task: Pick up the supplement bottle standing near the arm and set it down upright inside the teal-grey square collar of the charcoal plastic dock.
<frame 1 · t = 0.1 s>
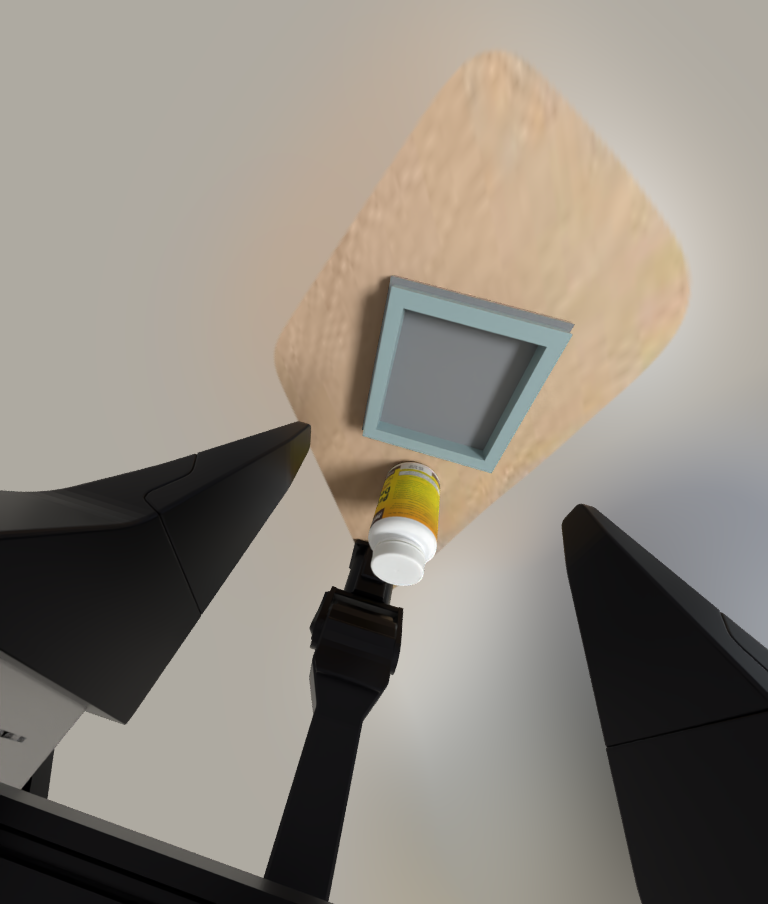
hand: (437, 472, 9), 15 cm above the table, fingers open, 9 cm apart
supplement bottle: (413, 480, 29), on the table
dock: (449, 381, 22), on the table
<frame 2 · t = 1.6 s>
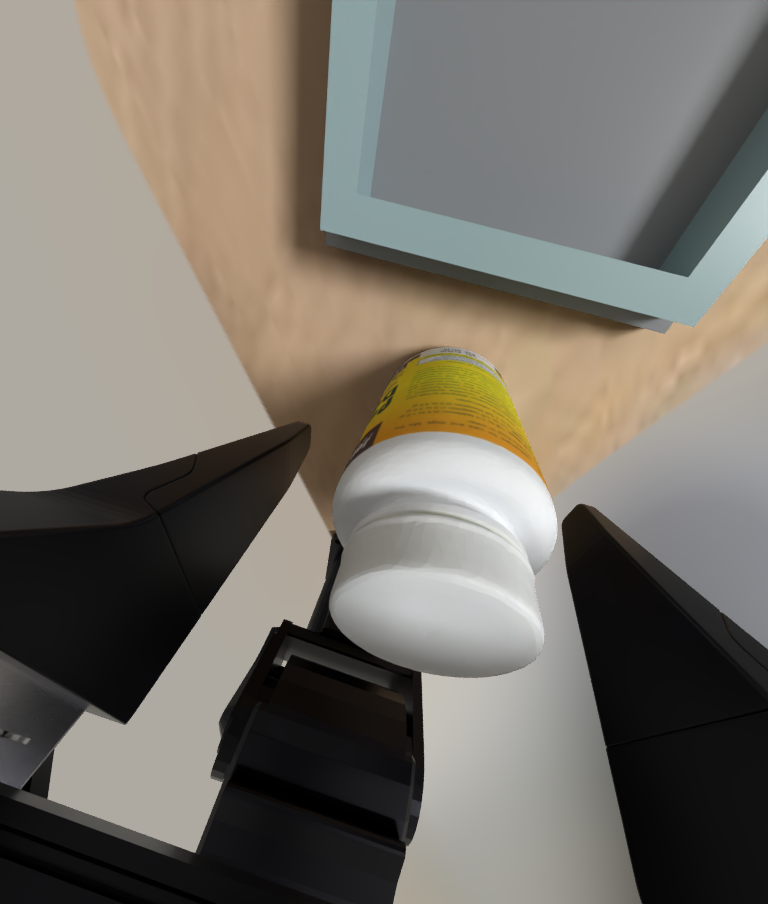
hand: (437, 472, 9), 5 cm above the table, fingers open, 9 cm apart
supplement bottle: (443, 401, 14), on the table
dock: (589, 9, 7), on the table
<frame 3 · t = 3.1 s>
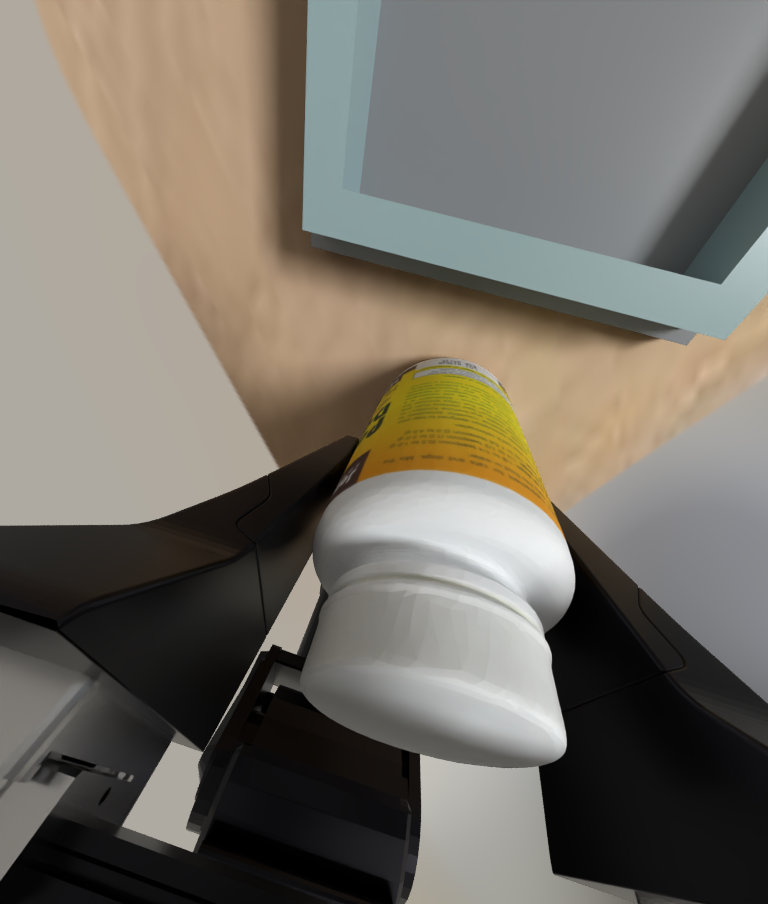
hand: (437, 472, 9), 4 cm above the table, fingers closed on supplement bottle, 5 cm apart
supplement bottle: (442, 415, 13), on the table, touching gripper
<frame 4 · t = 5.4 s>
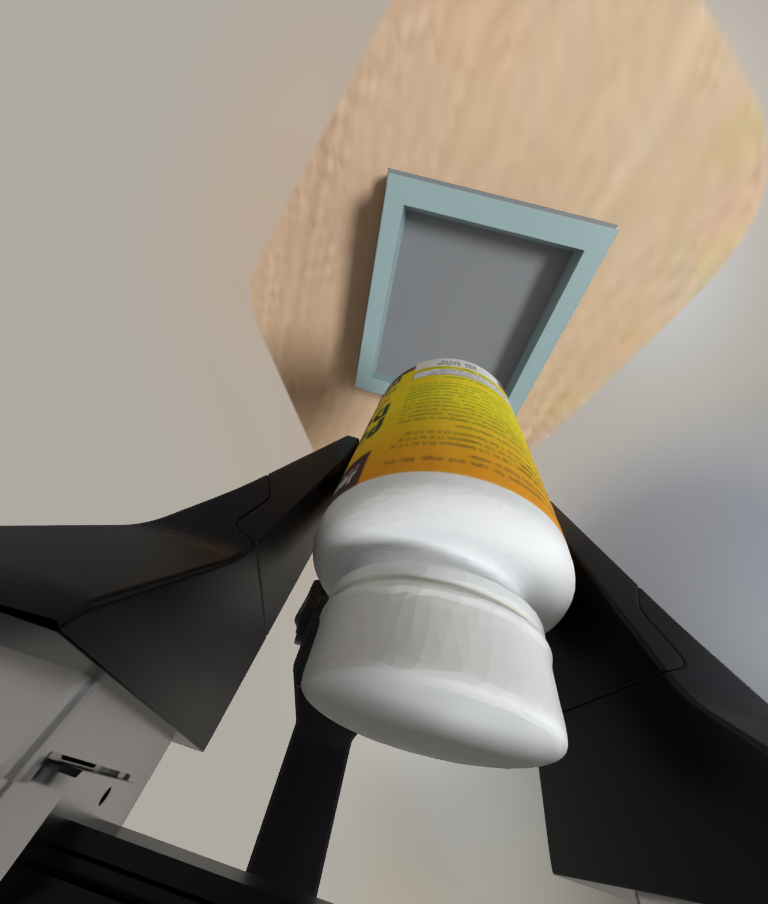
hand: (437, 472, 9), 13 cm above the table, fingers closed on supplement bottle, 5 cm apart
supplement bottle: (441, 415, 13), point 9 cm above the table, touching gripper
dock: (458, 318, 18), on the table
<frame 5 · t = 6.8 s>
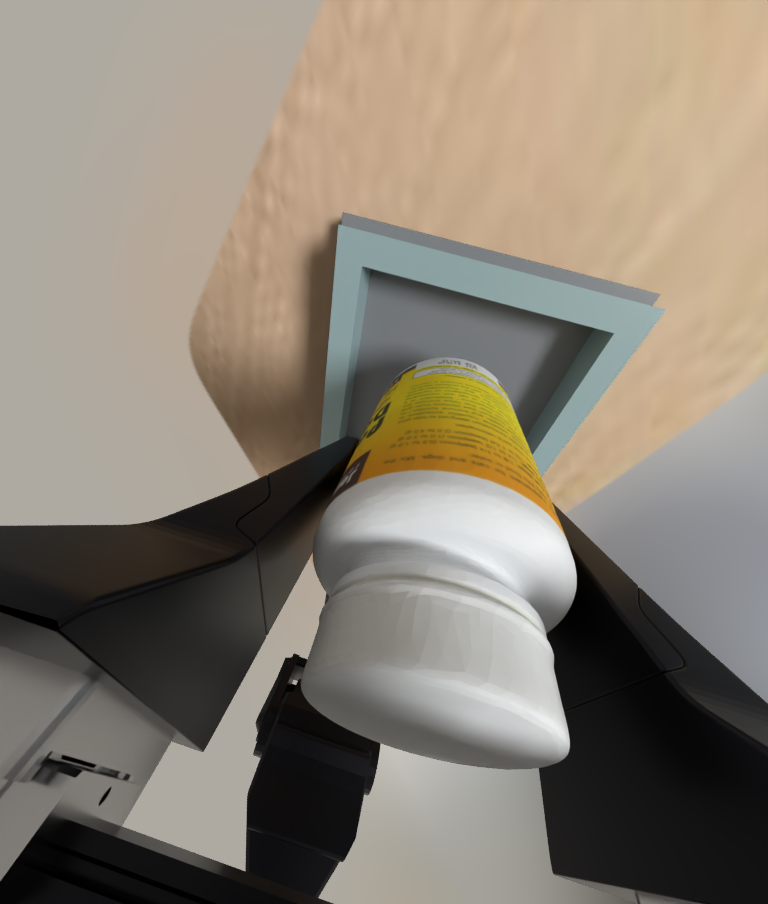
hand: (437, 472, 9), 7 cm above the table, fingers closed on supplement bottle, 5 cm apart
supplement bottle: (441, 414, 13), point 3 cm above the table, touching gripper
dock: (444, 390, 15), on the table
when the fingers open (6 cm above the table, at t = 8.0 s): supplement bottle drops 1 cm, resting on dock.
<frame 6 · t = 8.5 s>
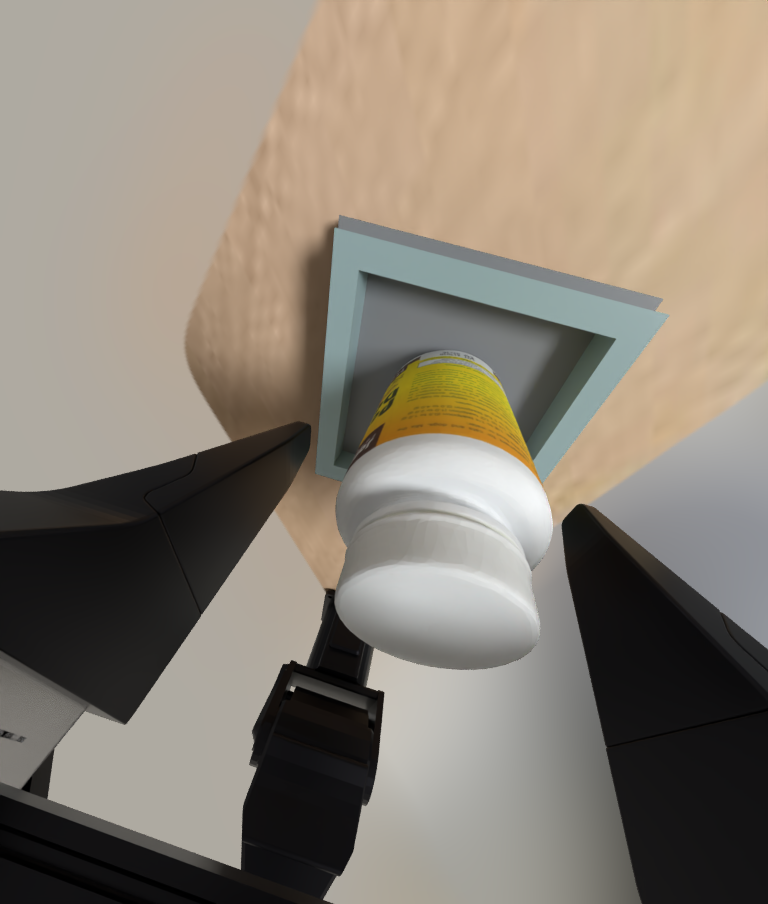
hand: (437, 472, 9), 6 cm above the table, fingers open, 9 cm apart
supplement bottle: (442, 403, 14), point 1 cm above the table, touching dock
dock: (443, 394, 14), on the table
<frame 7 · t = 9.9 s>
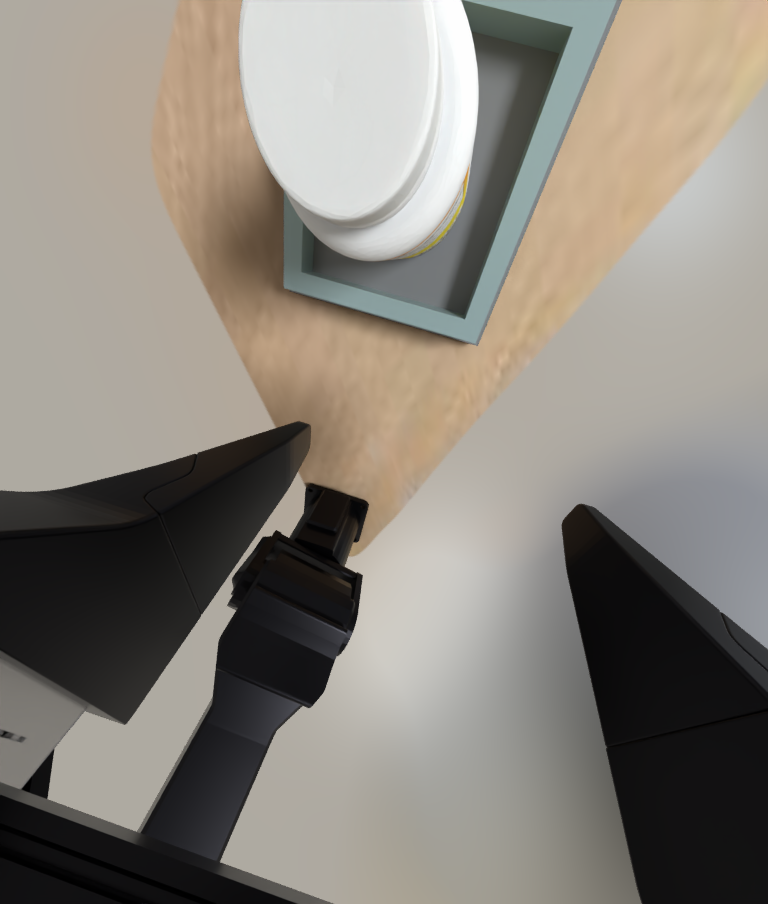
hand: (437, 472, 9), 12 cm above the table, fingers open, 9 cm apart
supplement bottle: (408, 189, 14), point 1 cm above the table, touching dock
dock: (411, 189, 14), on the table
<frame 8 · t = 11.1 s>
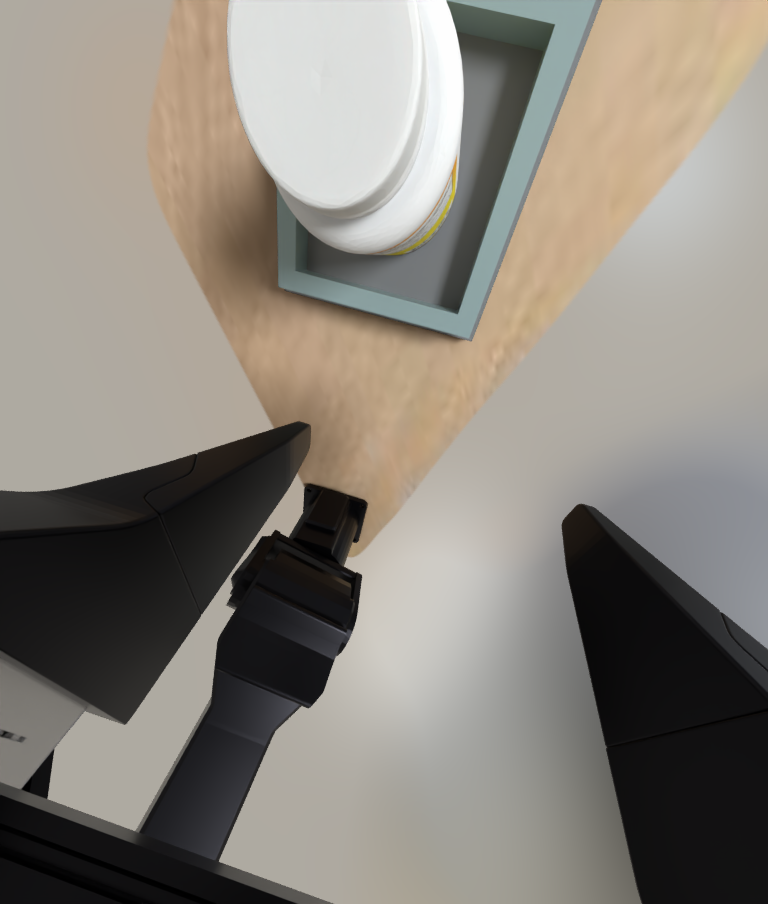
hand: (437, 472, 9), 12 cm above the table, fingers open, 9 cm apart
supplement bottle: (399, 187, 14), point 1 cm above the table, touching dock
dock: (402, 188, 14), on the table
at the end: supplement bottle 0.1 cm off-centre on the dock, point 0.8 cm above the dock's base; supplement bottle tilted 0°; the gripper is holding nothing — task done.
